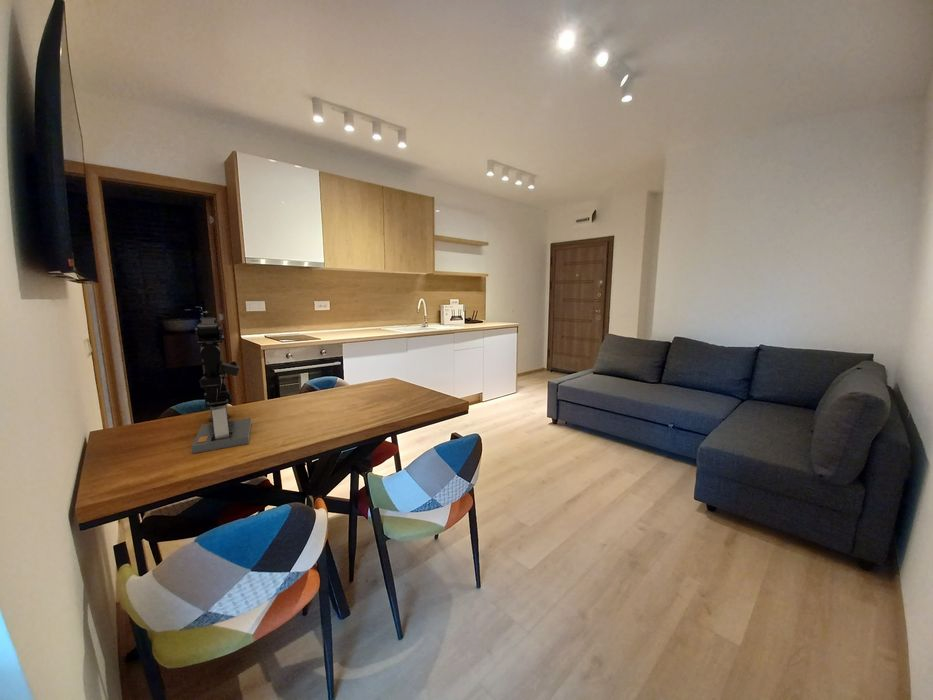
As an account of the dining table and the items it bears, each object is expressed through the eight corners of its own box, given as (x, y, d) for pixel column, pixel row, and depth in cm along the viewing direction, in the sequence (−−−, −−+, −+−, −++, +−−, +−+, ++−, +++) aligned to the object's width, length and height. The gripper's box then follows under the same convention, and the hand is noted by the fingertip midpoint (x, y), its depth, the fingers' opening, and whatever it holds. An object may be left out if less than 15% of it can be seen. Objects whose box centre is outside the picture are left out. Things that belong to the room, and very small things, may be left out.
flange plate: (202, 431, 137) (202, 424, 136) (251, 423, 144) (250, 417, 144) (192, 453, 118) (190, 445, 117) (248, 443, 125) (247, 436, 125)
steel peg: (215, 442, 126) (211, 407, 124) (229, 440, 129) (225, 405, 126) (216, 446, 123) (211, 410, 121) (230, 443, 125) (225, 408, 123)
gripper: (235, 360, 127) (239, 402, 130) (239, 352, 143) (243, 390, 146) (196, 363, 122) (202, 407, 124) (205, 354, 138) (210, 393, 141)
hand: (216, 398), depth 134 cm, fingers open, 9 cm apart
